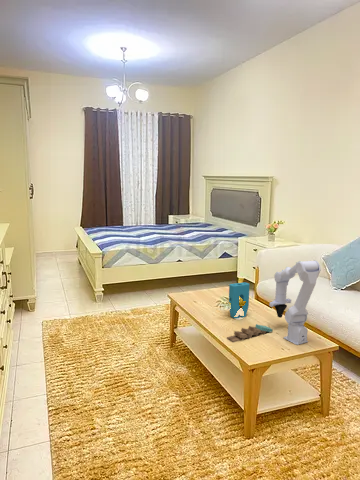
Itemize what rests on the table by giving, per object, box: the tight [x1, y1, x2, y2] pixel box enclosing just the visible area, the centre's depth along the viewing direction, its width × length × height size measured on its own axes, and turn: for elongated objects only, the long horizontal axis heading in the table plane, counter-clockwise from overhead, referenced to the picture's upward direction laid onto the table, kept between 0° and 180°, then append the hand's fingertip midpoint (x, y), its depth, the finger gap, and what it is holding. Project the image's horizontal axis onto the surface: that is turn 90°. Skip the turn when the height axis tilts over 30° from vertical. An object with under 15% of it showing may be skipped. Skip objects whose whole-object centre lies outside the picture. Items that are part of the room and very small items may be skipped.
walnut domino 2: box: [233, 331, 253, 339], centre depth 191 cm, size 5×2×8 cm
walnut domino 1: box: [226, 334, 246, 343], centre depth 189 cm, size 5×2×8 cm
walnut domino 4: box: [247, 325, 267, 335], centre depth 196 cm, size 5×2×8 cm
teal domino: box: [254, 323, 274, 333], centre depth 198 cm, size 5×2×8 cm
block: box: [228, 282, 251, 320], centre depth 220 cm, size 12×5×20 cm, turn 115°
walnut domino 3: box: [240, 327, 260, 337], centre depth 193 cm, size 5×2×8 cm
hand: (279, 316), depth 203 cm, fingers closed
